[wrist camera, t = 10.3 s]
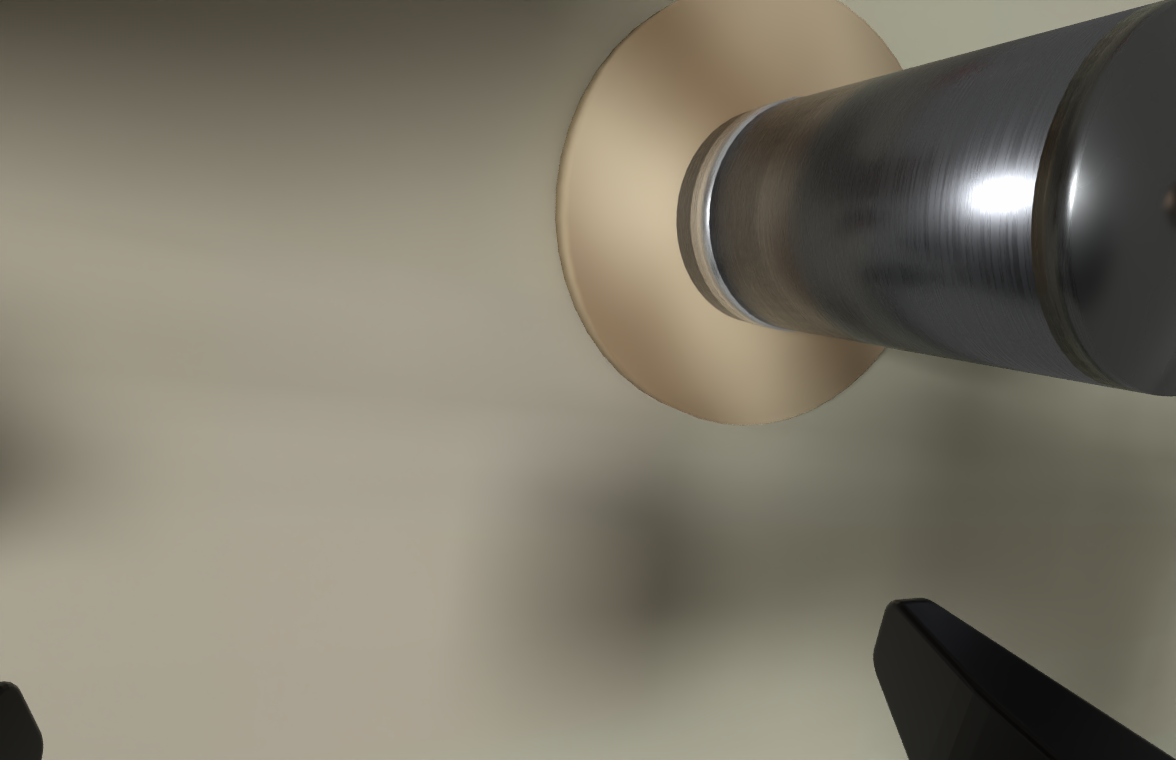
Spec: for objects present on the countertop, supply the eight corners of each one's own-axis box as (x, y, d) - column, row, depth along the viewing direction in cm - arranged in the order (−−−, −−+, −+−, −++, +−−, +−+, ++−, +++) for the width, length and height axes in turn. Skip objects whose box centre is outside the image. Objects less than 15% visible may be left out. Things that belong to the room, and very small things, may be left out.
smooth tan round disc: (745, 493, 23) (764, 503, 22) (460, 221, 18) (470, 220, 17) (965, 210, 24) (992, 209, 24) (755, -111, 20) (778, -128, 19)
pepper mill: (753, 367, 21) (1274, 508, 10) (632, 206, 19) (1138, 163, 8) (923, 186, 22) (1551, 136, 11) (830, 14, 20) (1504, -258, 9)
